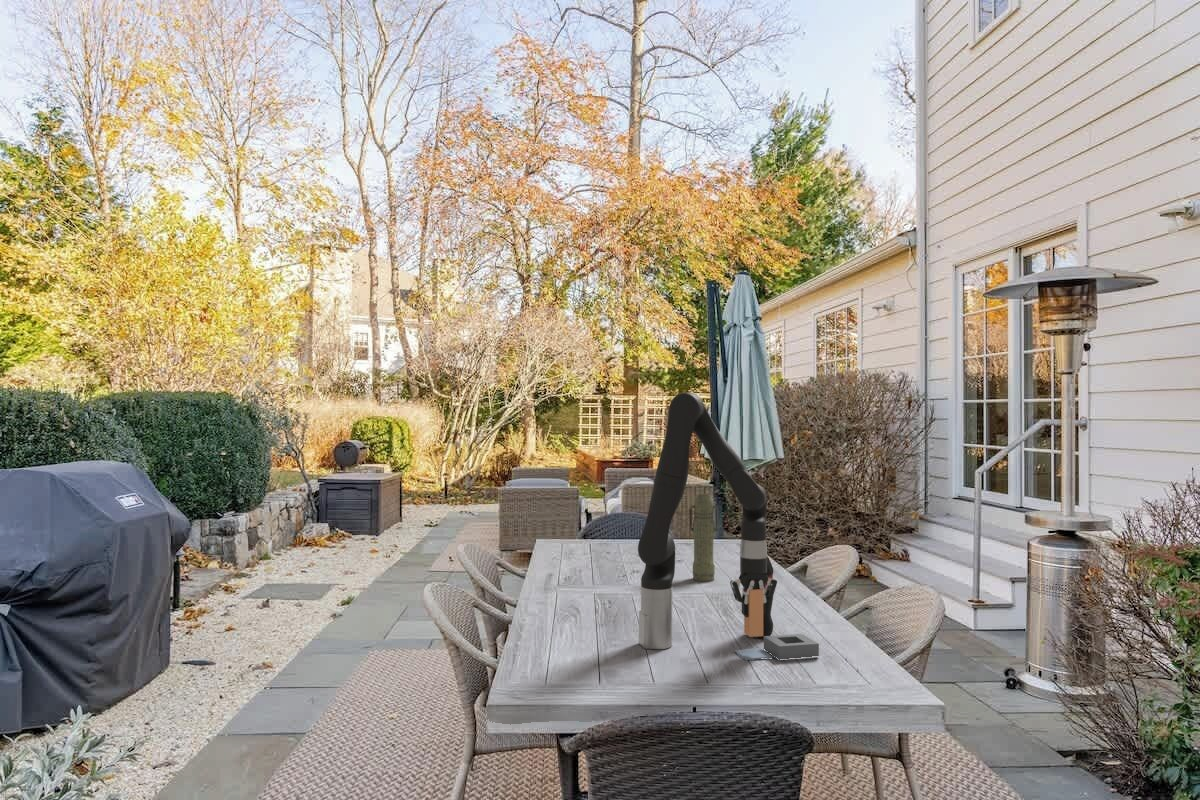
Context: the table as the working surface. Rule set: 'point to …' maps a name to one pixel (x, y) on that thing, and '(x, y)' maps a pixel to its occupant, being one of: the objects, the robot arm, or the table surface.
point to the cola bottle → (768, 606)
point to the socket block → (791, 646)
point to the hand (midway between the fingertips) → (753, 615)
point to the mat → (753, 654)
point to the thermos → (703, 537)
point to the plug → (754, 614)
